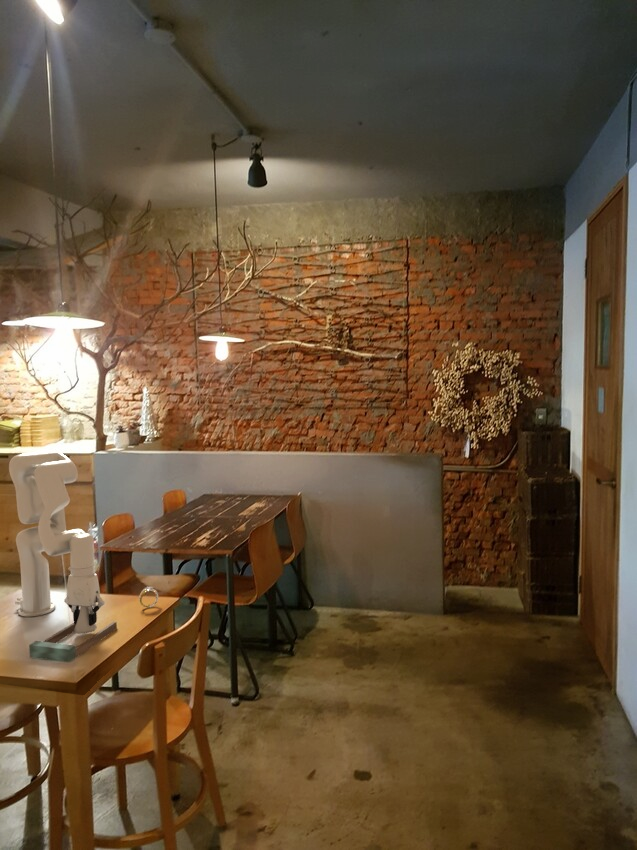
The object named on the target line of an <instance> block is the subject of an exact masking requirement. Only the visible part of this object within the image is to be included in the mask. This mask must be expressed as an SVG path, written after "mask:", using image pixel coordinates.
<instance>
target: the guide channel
mask: <svg viewBox="0 0 637 850" xmlns="http://www.w3.org/2000/svg"><path fill="white" fill-rule="evenodd" d="M75 626H76V624H74V621H73V622H72V623H70V624H69V625H67V626H66V627H64V628H62V629H61V630H59V631H57V632H55V634H54V633H53V634H52V635H51V636H49V637H47V638H46V639H45V640H43V641H40V640H35V641H34V642H32V643H30V644H29V645H28V647H29V649H28V650H29V658H32V659H41V660H49V661H54V662H55V661H57V662H66V663H71V662H72V661H74V660H75V659H77V658H78V657H79V656H80V655H81V656H82V654H83V653H85V652H86V651H87V650H89V649H90V648H92V647H93V646H94V645H96V644H98V643H99V642H101V641H102V640H103V639H104V637H105V636H106V637H108V636H109V635H110V634H111V632H112V633H114V632H115V631H116V630H117V629H118V626H117V621H112V622H111V623H109V624H108V625H106V626H104V627H103V628H102V629H101V630H99V631H97V632H96V633H95V634H92V636H90V637H88V638H87V639H86V640H84V641H82V642H81V643H79V644H78V645H77V646H76V644H75V645H74V644H66V643H59V642H60V641H61V640H63V639H65V638H66V637H68V636H69V635H71V634H73V633H75V631H74V629H75ZM108 634H109V635H108ZM106 637H105V638H106ZM101 639H102V640H101Z"/></svg>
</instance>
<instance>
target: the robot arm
mask: <svg viewBox="0 0 637 850" xmlns="http://www.w3.org/2000/svg"><path fill="white" fill-rule="evenodd" d="M8 471H9V475H10V478H11V481H12V483H13V485H14V488H15V497H16V498H15V499H16V507H17V508H16V509H17V517H18V520H19V521H20V523H21V524H23V525H33V524H34V525H35V524H37V523H38V524H37V525H38V526H32V527H28V528H25V529H22V530H21V531H19V532H18V533H17V535H16V538H15V542H16V543H15V545H16V548H17V551H18V557H19V566H20V568H19V569H20V579H21V580H20V581H21V582H20V583H21V597H20V596H18V597H17V598H16V600H15V601H14V603H15V605H16V606H18V605H19V606H20V607H19V609H18V610H17V611H18V615H19V616H22V617H31V618H32V617H37V616H43V615H46V614H49V613H51V612H53V611H54V610H55V609H56V603H55V602H53V601H51V583H50V581H51V580H50V568H49V567H50V566H49V564H50V563H49V561H48V559H47V558H46V557H45V556H44V555H43V554H42V552H44V553H46V554H47V556H49V557H59V556H63V555H65V554H69V560H70V561H69V563H70V566H68V568H67V570H68V571H70V574H69V575H68V578H67V585H66V596H65V598H64V601H63V602H64V603H65V605H67V606H68V608H70V610H71V611H70V612H71V613H72V616H73V622H74V624H76V623H77V620H78V617H79V613H80V606H85V607H88V608H89V611H90V614H89V625H90V626H92V625H93V624H96V623H97V620H98V619H97V618H98V616H97V615H98V614H97V613H98V611H99V609H100V608H102V607H103V606H104V605H105V600H104V599H103V598H102V597H101V591H100V584H99V578H98V575H97V573H96V567H95V565H96V564H95V563H96V561H95V546H94V536H93V534H92V533H87V532H86V531H84V530H83V529H82V528H73V529H69V530H67V523H66V514H65V513H66V512H65V507H67V506H68V505H69V504H70V501H71V498H70V496H69V493H68V490H67V487H66V485H65V484H72V483H74V482H76V481H77V479H78V477H79V476H78V473H79V472H78V469H77V466H76V465H75V463H74V462H73V460H72V459H70V458H69V457H68V456H67V455H64V453H62V452H61V451H58V450H43V451H33V452H32V451H31V452H24V453H20V454H16V455H14V456H13V457H12V458H11V459H10V461H9V464H8Z"/></svg>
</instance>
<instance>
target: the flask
mask: <svg viewBox="0 0 637 850" xmlns="http://www.w3.org/2000/svg"><path fill="white" fill-rule="evenodd" d="M79 609H80V613H79V617H78V620H77V623H76V626H75V629H74V633H75V634H79V635H81V634H82V635H84V634H88V633H92V632H95V631H96V629H97V627H98V626H97V624H96V623H95V624H93V625H92V626H90V625H89V614H90V611H89V608H88V607H85V606H80V608H79Z"/></svg>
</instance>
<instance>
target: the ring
mask: <svg viewBox="0 0 637 850" xmlns="http://www.w3.org/2000/svg"><path fill="white" fill-rule="evenodd" d="M150 591H151V592H153V593H155V600H154V602H152V603H151V604H145V603H143V602H142V601H143V600H142V599H143V597H144V595H146V594H148V592H150ZM158 600H159V593H158V591H157V590H156V589H154V586H149V585H148V586H146V587H144V588H143V589H142V590H141V592H140V594H139V597H138V601H139V603H140V605H141V606H142V607H143V608H148V609H149V608H152V607H155V605H156V604H157V602H158Z"/></svg>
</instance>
